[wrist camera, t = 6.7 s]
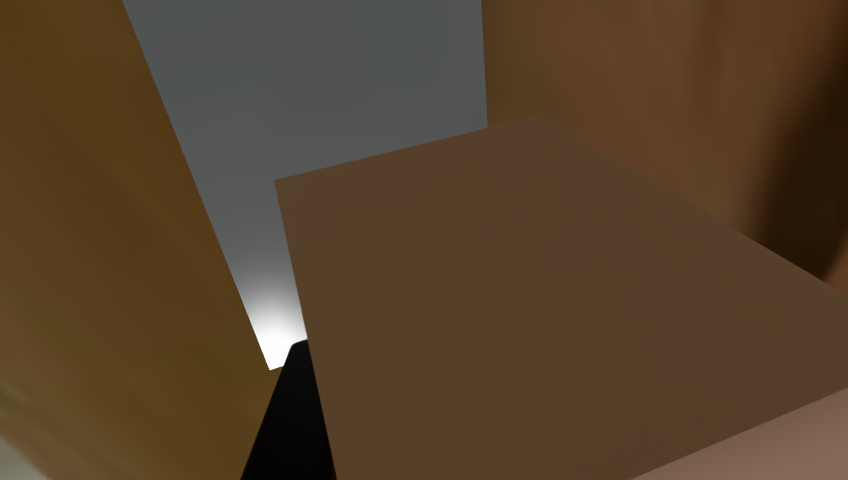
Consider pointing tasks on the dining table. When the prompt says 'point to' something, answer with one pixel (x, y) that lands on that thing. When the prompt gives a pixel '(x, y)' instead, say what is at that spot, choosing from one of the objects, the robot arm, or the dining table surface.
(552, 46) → the dining table surface
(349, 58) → the slate board
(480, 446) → the tan rectangular block
